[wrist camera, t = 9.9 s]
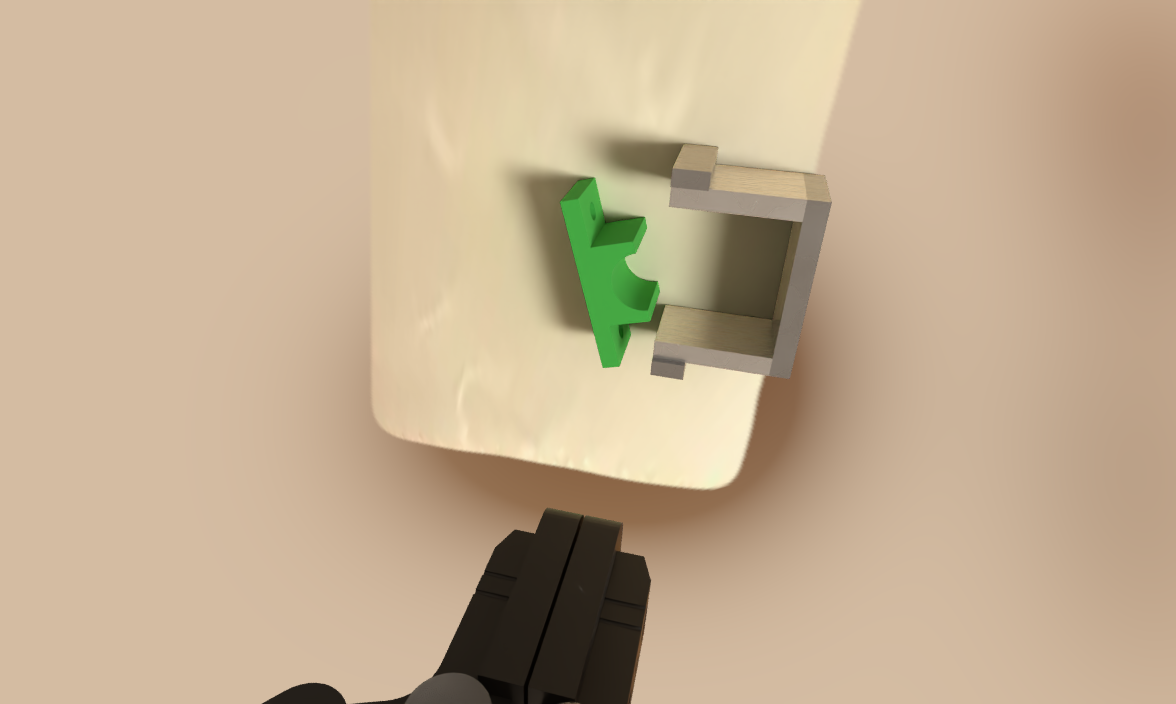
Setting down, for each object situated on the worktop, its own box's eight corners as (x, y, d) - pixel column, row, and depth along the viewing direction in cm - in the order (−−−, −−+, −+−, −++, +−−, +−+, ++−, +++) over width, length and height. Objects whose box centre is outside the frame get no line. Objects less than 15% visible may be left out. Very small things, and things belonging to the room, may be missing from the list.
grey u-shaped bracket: (683, 143, 39) (672, 168, 34) (829, 157, 37) (836, 185, 33) (662, 333, 45) (650, 374, 41) (784, 351, 44) (786, 396, 40)
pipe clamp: (668, 328, 46) (659, 363, 42) (616, 334, 47) (602, 368, 43) (636, 168, 40) (622, 191, 37) (578, 179, 42) (559, 202, 38)
